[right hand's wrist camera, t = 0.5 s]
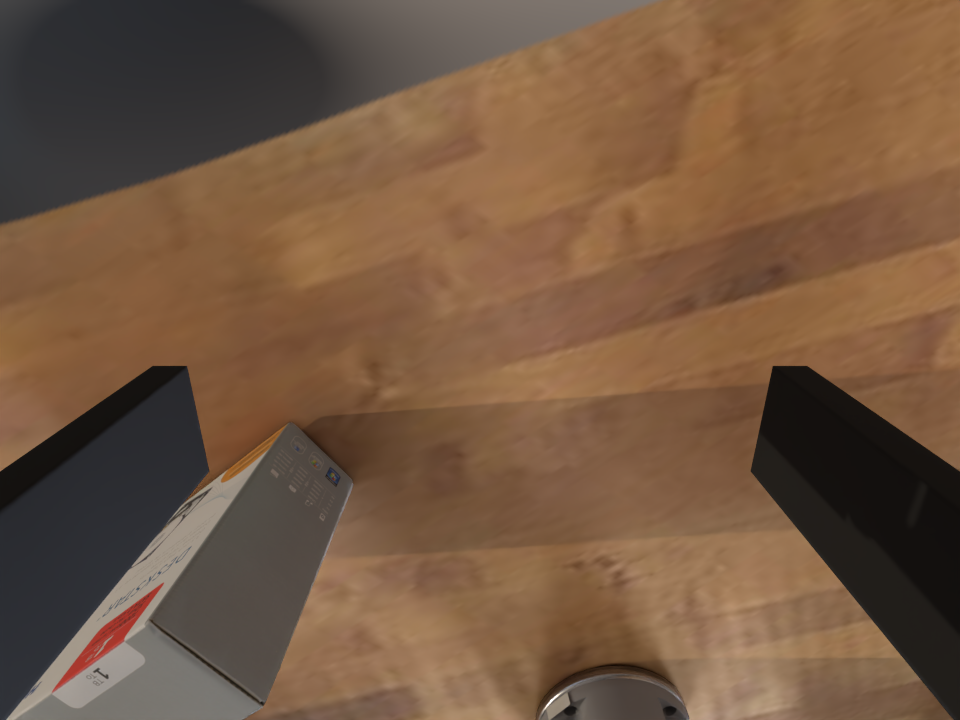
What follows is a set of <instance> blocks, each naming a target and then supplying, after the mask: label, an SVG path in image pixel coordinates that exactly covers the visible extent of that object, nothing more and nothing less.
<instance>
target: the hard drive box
mask: <svg viewBox="0 0 960 720" xmlns="http://www.w3.org/2000/svg"><path fill="white" fill-rule="evenodd" d="M352 487H353V483H352V479H351V478H350V477H349V476H348V475H347V474H346V473H345V472H344V471H343V470H342V469H341V468H340V467H338V466H337V464H336V463H335V462H333V461H332V460H331V459H330V458H329V457H328V456H327V455H326V454H325V453H324V452H323V451H322V450H321V449H320V448H319V447H318V446H317V445H316V444H315V443H314V442H313V441H312V440H311V439H310V438H309V437H308V436H307V435H306V434H304V433H303V432H302V431H301V430H300V429H299V428H298V427H297V426H296V425H295V424H294V423H293V422H290V423H288V424H286V425H285V426H284V427H282V428H281V429H280V430H278V431H277V432H276V433H275V434H273V435H272V436H271V437H269V438H268V439H267V440H265V441H264V442H263V443H261V444H260V445H259V446H258V447H256V448H255V449H254V450H252V451H251V452H250V453H249V454H247V455H246V456H245V457H244V458H242V459H241V460H240V461H238V462H237V463H236V464H234V465H233V466H232V467H231V468H229V469H228V470H227V471H225V472H224V473H223V474H221V475H220V476H219V477H218V478H216V479H215V480H214V481H212V482H211V483H210V484H208V485H207V486H206V487H204V488H203V489H202V490H200V491H199V492H198V493H197V494H195V495H194V496H193V497H192V498H190V499H189V500H188V501H186V502H185V503H184V504H183V505H181V507H180V508H179V509H178V510H177V511H176V513H175V514H174V515H173V516H172V518H171V519H170V520H169V521H168V522H167V524H166V525H165V526H164V527H163V529H162V530H161V531H160V532H159V533H158V535H157V536H156V537H155V538H154V540H153V541H152V542H151V543H150V544H149V546H148V547H147V548H146V549H145V551H144V552H143V553H142V554H141V555H140V557H139V558H138V559H137V560H136V562H135V563H134V564H133V565H132V567H131V568H130V569H129V570H128V571H127V573H126V574H125V575H124V576H123V578H122V579H121V580H120V581H119V582H118V584H117V585H116V586H115V587H114V589H113V590H112V591H111V592H110V593H109V595H108V596H107V597H106V598H105V600H104V601H103V602H102V603H101V604H100V606H99V607H98V608H97V609H96V611H95V612H94V613H93V614H92V615H91V617H90V618H89V619H88V620H87V622H86V623H85V624H84V625H83V626H82V628H81V629H80V630H79V631H78V633H77V634H76V635H75V636H74V638H73V639H72V640H71V641H70V642H69V644H68V645H67V646H66V647H65V649H64V650H63V651H62V652H61V653H60V655H59V656H58V657H57V658H56V660H55V661H54V662H53V663H52V664H51V666H50V667H49V668H48V669H47V671H46V672H45V673H44V674H43V675H42V677H41V678H40V679H39V680H38V682H37V683H36V684H35V685H34V686H33V688H32V689H31V690H30V691H29V693H28V694H27V695H26V696H25V697H24V699H23V700H22V701H21V702H20V704H19V705H18V706H17V707H16V709H15V710H14V711H13V712H12V713H11V715H10V716H9V717H8V718H7V720H244V719H245V718H247V717H248V716H250V715H251V714H253V713H255V712H256V711H258V710H259V709H261V708H262V707H263V706H264V704H265V702H266V700H267V698H268V695H269V693H270V690H271V688H272V685H273V683H274V681H275V678H276V676H277V673H278V671H279V669H280V666H281V663H282V661H283V658H284V656H285V653H286V651H287V648H288V646H289V643H290V641H291V638H292V636H293V633H294V631H295V628H296V626H297V623H298V621H299V618H300V616H301V613H302V611H303V608H304V606H305V603H306V601H307V598H308V596H309V593H310V591H311V589H312V586H313V584H314V581H315V579H316V576H317V574H318V571H319V569H320V566H321V564H322V561H323V559H324V557H325V554H326V552H327V549H328V547H329V544H330V542H331V539H332V537H333V534H334V532H335V529H336V527H337V524H338V522H339V520H340V517H341V515H342V512H343V510H344V507H345V505H346V502H347V500H348V497H349V495H350V492H351V490H352Z"/></svg>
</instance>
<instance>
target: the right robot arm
mask: <svg viewBox="0 0 960 720" xmlns="http://www.w3.org/2000/svg"><path fill="white" fill-rule="evenodd" d="M208 472H209V468H208V463H207V458H206V453H205V449H204V444H203V439H202V435H201V430H200V425H199V420H198V416H197V411H196V406H195V402H194V397H193V392H192V387H191V383H190V378H189V373H188V368H187V366H152V367H151V368H149V369H148V370H146V371H145V372H144V373H142V374H141V375H139V376H138V377H136V378H135V379H133V380H132V381H131V382H129V383H128V384H126V385H125V386H123V387H122V388H120V389H119V390H117V391H116V392H115V393H113V394H112V395H110V396H109V397H107V398H106V399H104V400H103V401H102V402H100V403H99V404H97V405H96V406H94V407H93V408H91V409H90V410H89V411H87V412H86V413H84V414H83V415H81V416H80V417H78V418H77V419H76V420H74V421H73V422H71V423H70V424H68V425H67V426H65V427H64V428H63V429H61V430H60V431H58V432H57V433H55V434H54V435H52V436H51V437H49V438H48V439H47V440H45V441H44V442H42V443H41V444H39V445H38V446H36V447H35V448H34V449H32V450H31V451H29V452H28V453H26V454H25V455H23V456H22V457H21V458H19V459H18V460H16V461H15V462H13V463H12V464H10V465H9V466H8V467H6V468H5V469H3V470H2V471H0V720H7V718H8V717H9V716H10V715H11V713H12V712H13V711H14V710H15V709H16V707H17V706H18V705H19V704H20V702H21V701H22V700H23V699H24V697H25V696H26V695H27V694H28V693H29V691H30V690H31V689H32V688H33V686H34V685H35V684H36V683H37V682H38V680H39V679H40V678H41V677H42V675H43V674H44V673H45V672H46V671H47V669H48V668H49V667H50V666H51V664H52V663H53V662H54V661H55V660H56V658H57V657H58V656H59V655H60V653H61V652H62V651H63V650H64V649H65V647H66V646H67V645H68V644H69V642H70V641H71V640H72V639H73V638H74V636H75V635H76V634H77V633H78V631H79V630H80V629H81V628H82V626H83V625H84V624H85V623H86V622H87V620H88V619H89V618H90V617H91V615H92V614H93V613H94V612H95V611H96V609H97V608H98V607H99V606H100V604H101V603H102V602H103V601H104V600H105V598H106V597H107V596H108V595H109V593H110V592H111V591H112V590H113V589H114V587H115V586H116V585H117V584H118V582H119V581H120V580H121V579H122V578H123V576H124V575H125V574H126V573H127V571H128V570H129V569H130V568H131V567H132V565H133V564H134V563H135V562H136V560H137V559H138V558H139V557H140V555H141V554H142V553H143V552H144V551H145V549H146V548H147V547H148V546H149V544H150V543H151V542H152V541H153V540H154V538H155V537H156V536H157V535H158V533H159V532H160V531H161V530H162V529H163V527H164V526H165V525H166V524H167V522H168V521H169V520H170V519H171V518H172V516H173V515H174V514H175V513H176V511H177V510H178V509H179V508H180V507H181V505H182V504H183V503H184V502H185V500H186V499H187V498H188V497H189V495H190V494H191V493H192V492H193V491H194V489H195V488H196V487H197V486H198V484H199V483H200V482H201V481H202V480H203V478H204V477H205V476H206V475H207V473H208ZM751 472H752V473H753V475H754V476H755V477H756V478H757V480H758V481H759V482H760V483H761V484H762V486H763V487H764V488H765V489H766V491H767V492H768V493H769V494H770V496H771V497H772V498H773V499H774V500H775V502H776V503H777V504H778V505H779V507H780V508H781V509H782V510H783V511H784V513H785V514H786V515H787V516H788V518H789V519H790V520H791V521H792V522H793V524H794V525H795V526H796V527H797V529H798V530H799V531H800V532H801V533H802V535H803V536H804V537H805V538H806V540H807V541H808V542H809V543H810V544H811V546H812V547H813V548H814V549H815V551H816V552H817V553H818V554H819V555H820V557H821V558H822V559H823V560H824V562H825V563H826V564H827V565H828V567H829V568H830V569H831V570H832V571H833V573H834V574H835V575H836V576H837V578H838V579H839V580H840V581H841V582H842V584H843V585H844V586H845V587H846V589H847V590H848V591H849V592H850V593H851V595H852V596H853V597H854V598H855V600H856V601H857V602H858V603H859V604H860V606H861V607H862V608H863V609H864V611H865V612H866V613H867V614H868V615H869V617H870V618H871V619H872V620H873V622H874V623H875V624H876V625H877V626H878V628H879V629H880V630H881V631H882V633H883V634H884V635H885V636H886V638H887V639H888V640H889V641H890V642H891V644H892V645H893V646H894V647H895V649H896V650H897V651H898V652H899V653H900V655H901V656H902V657H903V658H904V660H905V661H906V662H907V663H908V664H909V666H910V667H911V668H912V669H913V671H914V672H915V673H916V674H917V675H918V677H919V678H920V679H921V680H922V682H923V683H924V684H925V685H926V686H927V688H928V689H929V690H930V691H931V693H932V694H933V695H934V696H935V697H936V699H937V700H938V701H939V702H940V704H941V705H942V706H943V707H944V709H945V710H946V711H947V712H948V713H949V715H950V716H951V717H952V718H953V720H960V471H958V470H957V469H955V468H954V467H952V466H951V465H950V464H948V463H947V462H945V461H944V460H942V459H941V458H939V457H938V456H937V455H935V454H934V453H932V452H931V451H929V450H928V449H926V448H925V447H924V446H922V445H921V444H919V443H918V442H916V441H915V440H913V439H912V438H910V437H909V436H908V435H906V434H905V433H903V432H902V431H900V430H899V429H897V428H896V427H895V426H893V425H892V424H890V423H889V422H887V421H886V420H884V419H883V418H882V417H880V416H879V415H877V414H876V413H874V412H873V411H871V410H870V409H869V408H867V407H866V406H864V405H863V404H861V403H860V402H858V401H857V400H856V399H854V398H853V397H851V396H850V395H848V394H847V393H845V392H844V391H843V390H841V389H840V388H838V387H837V386H835V385H834V384H832V383H831V382H829V381H828V380H827V379H825V378H824V377H822V376H821V375H819V374H818V373H816V372H815V371H814V370H812V369H811V368H809V367H808V366H773V368H772V373H771V378H770V383H769V387H768V392H767V397H766V401H765V406H764V411H763V416H762V420H761V425H760V430H759V435H758V439H757V444H756V449H755V453H754V458H753V463H752V468H751ZM536 720H689V716H688V713H687V710H686V707H685V704H684V701H683V699H682V697H681V695H680V693H679V692H678V690H677V689H676V688H675V687H674V686H673V685H672V684H671V683H670V682H669V681H667V680H666V679H665V678H663V677H661V676H660V675H658V674H655V673H653V672H651V671H648V670H645V669H641V668H636V667H630V666H604V667H597V668H592V669H588V670H585V671H582V672H579V673H577V674H574V675H572V676H570V677H568V678H566V679H564V680H563V681H561V682H560V683H558V684H557V685H556V686H554V687H553V688H552V689H551V690H550V691H549V692H548V693H547V694H546V696H545V697H544V698H543V700H542V702H541V703H540V705H539V708H538V710H537V714H536Z"/></svg>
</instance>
